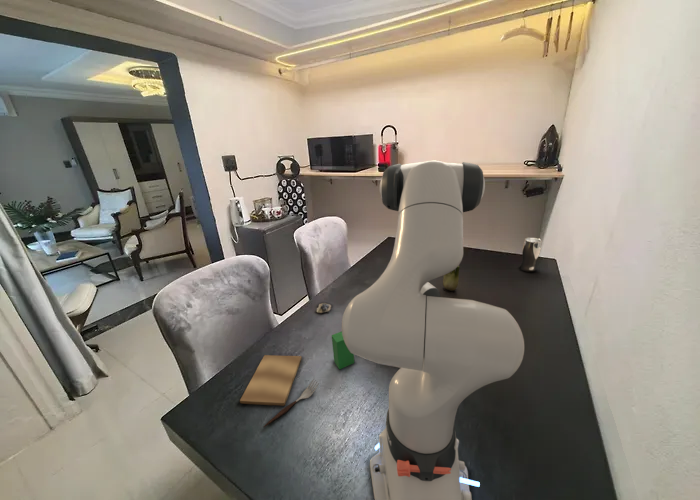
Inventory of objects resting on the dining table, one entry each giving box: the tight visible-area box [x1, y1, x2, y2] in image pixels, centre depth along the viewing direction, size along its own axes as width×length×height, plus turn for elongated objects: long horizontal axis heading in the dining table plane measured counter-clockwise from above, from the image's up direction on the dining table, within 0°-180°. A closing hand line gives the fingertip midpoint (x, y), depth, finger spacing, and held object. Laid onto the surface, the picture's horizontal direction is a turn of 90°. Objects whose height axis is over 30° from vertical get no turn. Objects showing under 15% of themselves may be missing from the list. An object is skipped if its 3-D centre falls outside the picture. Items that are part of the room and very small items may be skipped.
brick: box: [331, 330, 355, 371], centre depth 77 cm, size 5×4×10 cm
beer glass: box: [519, 237, 543, 273], centre depth 123 cm, size 7×7×15 cm
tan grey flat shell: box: [315, 302, 333, 314], centre depth 106 cm, size 7×8×2 cm
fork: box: [262, 378, 320, 429], centre depth 66 cm, size 3×16×2 cm, turn 134°
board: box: [239, 354, 303, 407], centre depth 75 cm, size 16×12×1 cm
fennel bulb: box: [442, 265, 461, 292], centre depth 111 cm, size 6×5×12 cm
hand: (362, 340), depth 80 cm, fingers open, 8 cm apart
